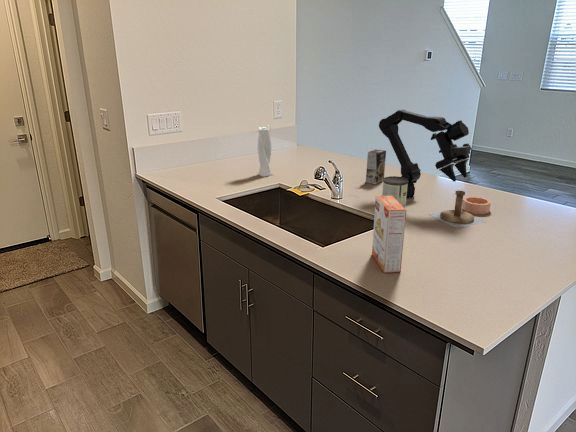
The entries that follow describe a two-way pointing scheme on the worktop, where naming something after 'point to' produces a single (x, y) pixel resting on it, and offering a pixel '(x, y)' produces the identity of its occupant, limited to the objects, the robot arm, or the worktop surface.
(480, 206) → the bowl
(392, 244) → the cracker box
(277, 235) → the worktop surface
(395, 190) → the coffee can
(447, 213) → the lid
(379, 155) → the coffee box
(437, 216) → the mat
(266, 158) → the skyscraper
